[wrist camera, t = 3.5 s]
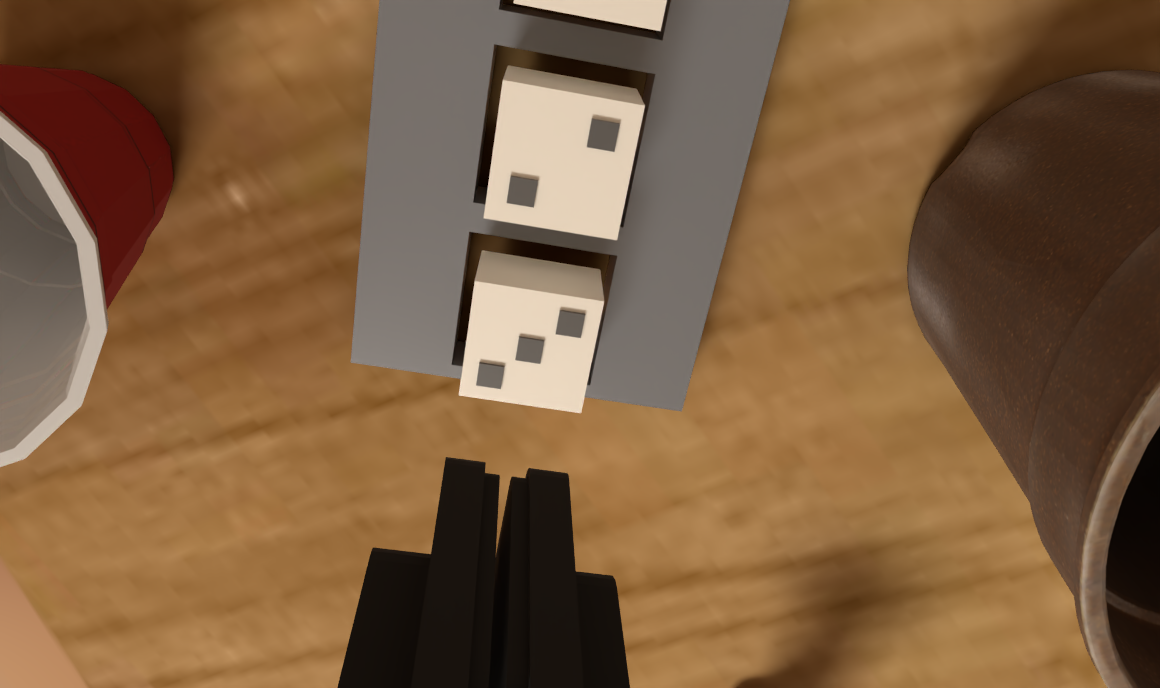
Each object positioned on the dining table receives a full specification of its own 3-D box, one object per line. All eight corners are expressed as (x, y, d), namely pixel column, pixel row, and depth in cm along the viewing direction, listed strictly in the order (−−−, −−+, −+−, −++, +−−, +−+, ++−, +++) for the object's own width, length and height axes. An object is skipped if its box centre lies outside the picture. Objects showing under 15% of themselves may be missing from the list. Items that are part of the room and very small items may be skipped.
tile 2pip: (636, 88, 27) (645, 106, 25) (611, 212, 29) (617, 241, 26) (507, 65, 27) (502, 80, 24) (489, 191, 29) (483, 219, 26)
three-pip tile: (600, 269, 30) (604, 302, 27) (579, 373, 31) (580, 414, 29) (481, 250, 29) (474, 282, 27) (466, 356, 31) (458, 396, 28)
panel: (808, -135, 27) (826, -140, 25) (675, 385, 34) (681, 411, 32) (408, -220, 26) (398, -231, 24) (362, 338, 33) (350, 362, 31)
